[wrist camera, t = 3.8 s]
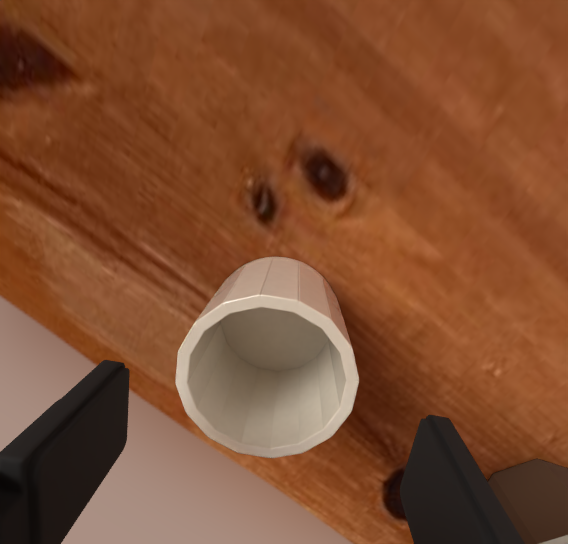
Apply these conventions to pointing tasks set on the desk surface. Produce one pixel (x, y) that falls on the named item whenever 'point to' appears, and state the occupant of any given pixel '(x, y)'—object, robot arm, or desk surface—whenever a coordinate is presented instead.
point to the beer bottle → (535, 500)
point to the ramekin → (269, 361)
